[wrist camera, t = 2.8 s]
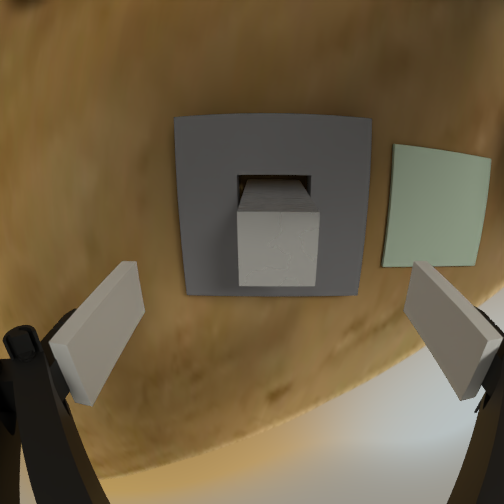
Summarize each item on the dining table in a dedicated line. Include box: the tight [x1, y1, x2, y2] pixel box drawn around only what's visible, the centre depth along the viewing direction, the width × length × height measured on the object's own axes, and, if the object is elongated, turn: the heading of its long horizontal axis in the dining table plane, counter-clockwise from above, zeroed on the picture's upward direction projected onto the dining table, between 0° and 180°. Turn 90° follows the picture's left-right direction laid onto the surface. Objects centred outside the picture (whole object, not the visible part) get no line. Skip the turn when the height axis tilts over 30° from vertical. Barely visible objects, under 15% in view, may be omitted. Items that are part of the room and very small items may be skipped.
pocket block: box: [174, 113, 372, 296], centre depth 28 cm, size 16×16×2 cm
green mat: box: [381, 144, 491, 267], centre depth 28 cm, size 12×12×1 cm
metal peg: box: [237, 179, 320, 286], centre depth 24 cm, size 4×4×12 cm
